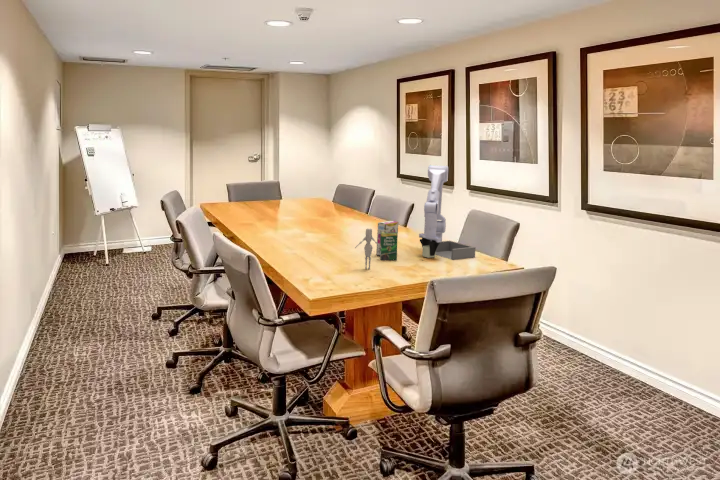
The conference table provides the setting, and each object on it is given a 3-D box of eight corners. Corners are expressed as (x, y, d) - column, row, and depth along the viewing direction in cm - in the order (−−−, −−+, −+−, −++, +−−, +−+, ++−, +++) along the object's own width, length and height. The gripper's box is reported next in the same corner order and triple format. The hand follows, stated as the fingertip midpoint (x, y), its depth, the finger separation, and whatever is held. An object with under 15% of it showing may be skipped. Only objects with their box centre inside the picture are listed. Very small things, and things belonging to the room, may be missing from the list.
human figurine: (380, 268, 247) (382, 228, 244) (381, 270, 244) (383, 229, 240) (353, 268, 246) (354, 227, 243) (354, 270, 242) (355, 229, 239)
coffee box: (379, 260, 263) (380, 232, 261) (379, 259, 266) (380, 231, 264) (396, 260, 263) (398, 233, 261) (396, 259, 266) (397, 232, 264)
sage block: (422, 255, 271) (422, 245, 270) (429, 255, 273) (430, 245, 272) (428, 257, 267) (428, 247, 266) (435, 256, 269) (436, 246, 269)
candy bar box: (384, 257, 270) (385, 223, 267) (375, 255, 273) (377, 222, 270) (397, 253, 279) (398, 221, 276) (389, 252, 282) (390, 220, 279)
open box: (428, 253, 282) (428, 242, 281) (449, 251, 289) (450, 240, 288) (452, 261, 266) (453, 249, 265) (474, 258, 273) (475, 247, 272)
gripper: (414, 225, 272) (413, 252, 274) (433, 229, 259) (431, 258, 262) (426, 224, 275) (424, 251, 278) (445, 228, 263) (443, 256, 266)
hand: (428, 254), depth 270 cm, fingers closed on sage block, 4 cm apart
